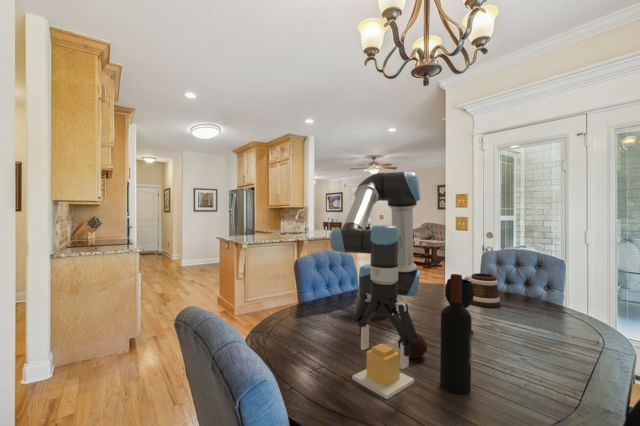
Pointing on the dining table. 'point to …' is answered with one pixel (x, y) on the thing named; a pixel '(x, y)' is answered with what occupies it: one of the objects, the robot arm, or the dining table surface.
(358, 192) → the robot arm
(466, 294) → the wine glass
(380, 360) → the orange block
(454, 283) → the wine bottle
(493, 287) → the mug
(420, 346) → the potato
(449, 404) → the dining table surface
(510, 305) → the dining table surface
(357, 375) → the post plate
